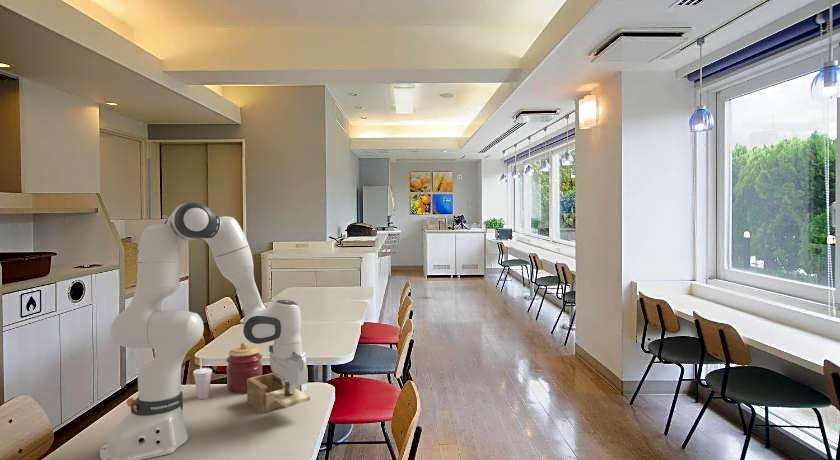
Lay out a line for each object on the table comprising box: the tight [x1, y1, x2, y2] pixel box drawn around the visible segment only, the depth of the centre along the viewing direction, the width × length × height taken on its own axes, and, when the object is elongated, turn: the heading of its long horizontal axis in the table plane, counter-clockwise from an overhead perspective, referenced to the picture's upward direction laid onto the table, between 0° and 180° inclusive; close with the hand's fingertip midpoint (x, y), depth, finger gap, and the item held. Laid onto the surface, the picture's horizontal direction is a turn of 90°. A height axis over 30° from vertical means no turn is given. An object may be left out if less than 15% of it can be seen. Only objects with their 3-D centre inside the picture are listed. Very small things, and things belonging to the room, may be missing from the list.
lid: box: [269, 381, 311, 408], centre depth 169 cm, size 8×13×5 cm
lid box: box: [246, 372, 294, 414], centre depth 181 cm, size 11×14×8 cm
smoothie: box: [192, 358, 213, 400], centre depth 188 cm, size 6×6×14 cm
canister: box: [225, 341, 263, 395], centre depth 196 cm, size 13×13×18 cm
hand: (288, 391), depth 169 cm, fingers closed on lid, 3 cm apart
